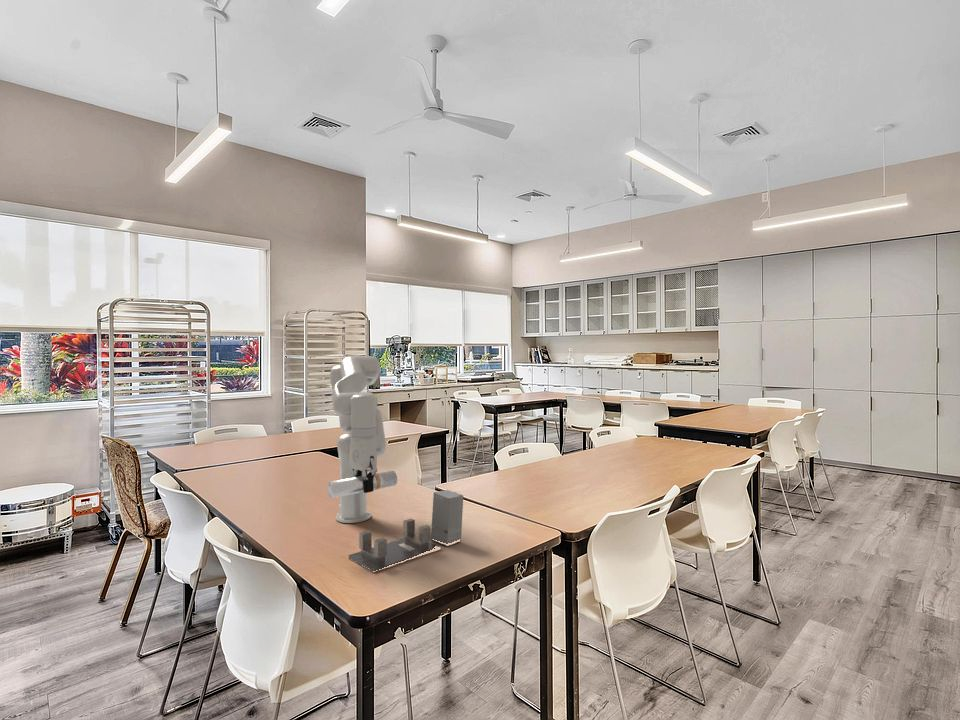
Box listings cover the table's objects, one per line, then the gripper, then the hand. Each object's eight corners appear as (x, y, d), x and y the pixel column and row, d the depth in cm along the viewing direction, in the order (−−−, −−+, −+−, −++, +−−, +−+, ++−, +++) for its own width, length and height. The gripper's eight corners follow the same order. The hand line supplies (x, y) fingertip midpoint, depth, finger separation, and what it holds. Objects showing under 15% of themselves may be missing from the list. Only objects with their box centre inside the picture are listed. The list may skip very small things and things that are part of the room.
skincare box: (430, 540, 166) (430, 492, 166) (447, 535, 171) (446, 488, 171) (447, 548, 160) (447, 497, 160) (464, 542, 165) (464, 493, 165)
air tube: (335, 499, 152) (335, 482, 152) (327, 497, 156) (327, 480, 156) (397, 487, 167) (397, 471, 167) (389, 484, 171) (388, 469, 171)
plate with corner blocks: (348, 558, 152) (348, 533, 152) (413, 537, 168) (413, 515, 168) (374, 573, 142) (373, 546, 142) (440, 549, 158) (440, 525, 158)
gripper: (339, 431, 165) (340, 487, 165) (366, 437, 153) (367, 497, 153) (360, 429, 171) (361, 483, 171) (388, 434, 158) (388, 493, 158)
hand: (363, 489), depth 162 cm, fingers closed on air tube, 5 cm apart
